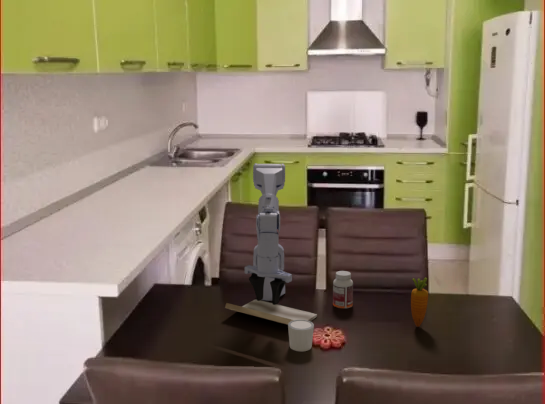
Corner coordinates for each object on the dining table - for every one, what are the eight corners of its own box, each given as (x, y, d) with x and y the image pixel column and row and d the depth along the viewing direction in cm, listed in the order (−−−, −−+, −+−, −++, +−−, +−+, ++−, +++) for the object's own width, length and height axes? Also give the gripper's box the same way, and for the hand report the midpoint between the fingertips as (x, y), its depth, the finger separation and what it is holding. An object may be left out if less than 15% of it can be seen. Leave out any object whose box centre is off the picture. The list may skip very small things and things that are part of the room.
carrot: (405, 327, 175) (408, 277, 172) (414, 322, 179) (417, 273, 176) (421, 332, 172) (424, 281, 169) (429, 326, 176) (433, 277, 173)
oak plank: (239, 312, 185) (240, 307, 185) (302, 328, 173) (303, 323, 174) (224, 307, 178) (226, 302, 179) (289, 324, 167) (290, 319, 167)
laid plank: (255, 303, 192) (255, 299, 192) (316, 319, 181) (317, 314, 180) (240, 311, 186) (240, 307, 185) (303, 328, 174) (303, 323, 174)
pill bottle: (348, 302, 194) (349, 269, 192) (355, 309, 188) (356, 275, 186) (329, 304, 193) (330, 270, 190) (336, 311, 187) (337, 277, 184)
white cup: (299, 341, 166) (300, 317, 164) (319, 349, 161) (319, 324, 160) (282, 348, 161) (282, 324, 160) (301, 357, 156) (301, 332, 155)
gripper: (238, 254, 169) (238, 300, 172) (282, 263, 161) (282, 311, 164) (252, 248, 175) (252, 293, 177) (296, 256, 167) (295, 303, 170)
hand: (267, 301), depth 171 cm, fingers open, 5 cm apart
